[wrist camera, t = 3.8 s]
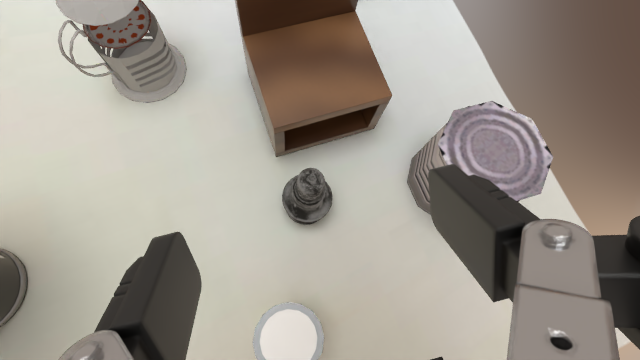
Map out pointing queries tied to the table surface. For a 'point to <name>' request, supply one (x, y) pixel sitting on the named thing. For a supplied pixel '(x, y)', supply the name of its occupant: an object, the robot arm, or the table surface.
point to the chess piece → (307, 197)
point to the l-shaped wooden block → (311, 70)
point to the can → (485, 152)
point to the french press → (127, 46)
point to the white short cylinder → (288, 334)
